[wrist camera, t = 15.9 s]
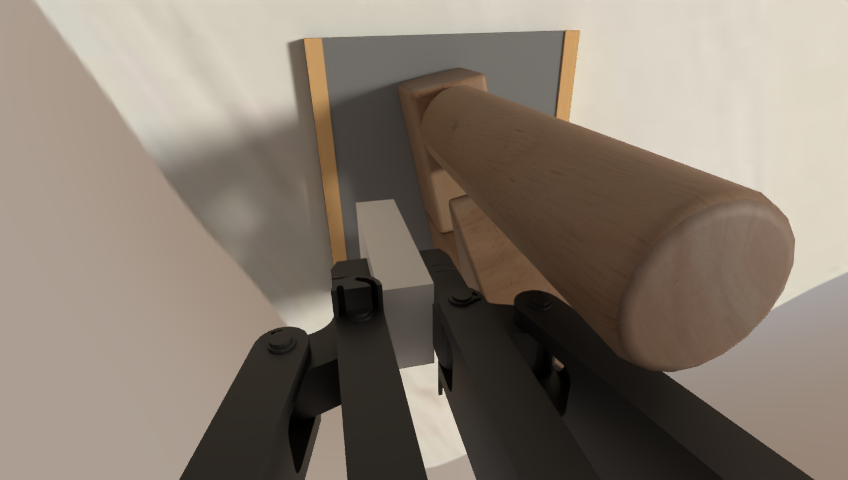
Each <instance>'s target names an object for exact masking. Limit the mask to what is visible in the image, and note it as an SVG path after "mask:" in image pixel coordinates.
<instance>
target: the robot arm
mask: <svg viewBox="0 0 848 480" xmlns="http://www.w3.org/2000/svg"><path fill="white" fill-rule="evenodd" d="M356 211H357V222H358V233H359V245H360V256H361V259H354V260H346V261H337V262H336V264H335V265H334V266H333V268H332V269H331V274H332V289H331V296H332V304H333V312H334V318H333V319H332V321H331V322H330V323H329V324H328V325H327V326H326V327H324V328H323V329H321V330H319V331H317V332H315V333H312V334H309V335H307V333H306V332H305V331H304V330H302V329H300V328H296V327H282V328H277V329H274V330H271V331H268V332H267V333H265V334H264V335H262V336H260V338H259V339H258V340H257V341H256V342H255V343H254V345H253V347H252V349H251V350H250V352H249V354H248V356H247V358H246V360H245V361H244V363H243V365H242V367H241V369H240V370H239V372H238V374H237V376H236V378H235V380H234V382H233V383H232V385H231V387H230V389H229V390H228V392H227V394H226V396H225V398H224V400H223V401H222V403H221V405H220V407H219V409H218V410H217V412H216V414H215V416H214V418H213V419H212V421H211V423H210V425H209V427H208V429H207V430H206V432H205V434H204V436H203V438H202V440H201V441H200V443H199V445H198V447H197V448H196V450H195V452H194V454H193V456H192V458H191V459H190V461H189V463H188V465H187V467H186V469H185V470H184V472H183V474H182V476H181V478H180V480H305V477H306V473H307V469H308V465H309V462H310V458H311V455H312V451H313V447H314V444H315V440H316V437H317V433H318V429H319V425H320V422H321V414H322V413H324V412H326V411H328V410H330V409H333V408H335V407H337V406H339V405H341V406H342V418H343V431H344V442H345V455H346V466H347V478H348V480H428V479H427V475H426V471H425V468H424V464H423V460H422V456H421V452H420V448H419V444H418V441H417V437H416V433H415V429H414V425H413V421H412V417H411V414H410V410H409V406H408V402H407V398H406V394H405V390H404V387H403V383H402V379H401V375H400V371H399V369H401V368H407V367H413V366H419V365H425V364H430V363H434V350H435V352H436V355H437V357H438V393H439V395H442V388H444V391H445V394H446V397H447V399H448V402H449V405H450V408H451V411H452V413H453V416H454V419H455V422H456V424H457V427H458V430H459V433H460V435H461V438H462V441H463V444H464V447H465V449H466V452H467V455H468V458H469V460H470V463H471V466H472V469H473V471H474V474H475V477H476V480H814V479H813V478H811V477H810V476H808V475H807V474H805V473H804V472H803V471H801V470H800V469H798V468H797V467H795V466H794V465H793V464H791V463H790V462H789V461H787V460H786V459H784V458H783V457H781V456H780V455H779V454H777V453H776V452H775V451H773V450H772V449H770V448H769V447H767V446H766V445H765V444H763V443H762V442H760V441H759V440H757V439H756V438H755V437H753V436H752V435H751V434H749V433H748V432H746V431H745V430H744V429H742V428H741V427H739V426H738V425H737V424H735V423H734V422H732V421H731V420H729V419H728V418H726V417H725V416H724V415H722V414H721V413H720V412H718V411H717V410H715V409H714V408H712V407H711V406H710V405H708V404H707V403H706V402H704V401H703V400H701V399H700V398H699V397H697V396H696V395H694V394H693V393H692V392H690V391H689V390H687V389H686V388H684V387H683V386H682V385H680V384H679V383H677V382H676V381H675V380H673V379H672V378H670V377H669V376H668V375H666V374H665V373H663V372H662V371H650V370H647V369H645V368H642V367H640V366H637V365H635V364H633V363H631V362H629V361H627V360H624V359H622V358H620V357H618V356H617V354H616V353H615V352H614V351H613V350H612V349H611V348H610V347H609V346H608V345H607V344H606V343H605V342H604V341H603V339H602V338H601V337H600V336H599V335H598V334H597V333H596V332H595V331H594V330H593V329H592V328H591V327H590V326H589V324H588V323H587V322H586V321H585V320H584V319H583V318H582V317H581V316H580V315H579V314H578V313H577V312H576V310H575V309H573V308H572V307H571V306H569V305H568V304H566V303H565V302H563V301H562V300H561V299H559V298H558V297H556V296H554V295H552V294H551V293H548V292H544V291H541V290H529V291H523V292H521V293H519V294H517V295H516V297H515V298H514V304H513V305H508V304H495V303H490V302H487V300H486V298H485V297H484V296H483V295H482V294H481V293H480V292H479V291H477V290H475V289H473V288H469V287H468V286H467V284H466V282H465V281H464V279H463V277H462V276H461V274H460V272H459V271H458V270H457V267H456V266H455V264H453V261H452V259H451V258H450V256H449V254H447V253H446V252H444V251H442V250H441V249H439V248H438V249H429V250H421V251H418V249H417V247H416V245H415V243H414V241H413V239H412V237H411V235H410V232H409V230H408V228H407V226H406V224H405V222H404V220H403V218H402V216H401V214H400V212H399V209H398V207H397V205H396V203H395V201H394V199H389V200H379V201H368V202H357V203H356ZM555 358H556V359H557V360H558V361H559V362H561V363H562V364H563V365H564V367H563V368H561V367H560V366H558V365H557V364H556V363H555Z"/></svg>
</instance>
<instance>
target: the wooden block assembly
mask: <svg viewBox="0 0 848 480" xmlns="http://www.w3.org/2000/svg"><path fill="white" fill-rule="evenodd" d="M398 94H399V99H400V103H401V107H402V112H403V116H404V120H405V125H406V129H407V134H408V138H409V142H410V147H411V151H412V156H413V160H414V164H415V169H416V173H417V178H418V182H419V186H420V191H421V195H422V199H423V204H424V208H425V210H426V211H427V213H428V214H427V222H428V226H429V230H430V235H431V239H432V244H433V248H434V249H438V248H439V249H441V250H442V251H444V252H446V253H447V254H449V256H450V258H451V259H452V261H453V264H455V266H456V267H457V270H458V271H459V272H460V274H461V276H462V277H463V279H464V281H465V282H466V284H467V286H468V287H469V288H473V289H475V290H477V291H479V292H480V293H481V294H482V295H483V296H484V297H485V298H486V300H487V302H490V303H495V304H508V305H513V304H514V298H515V297H516V295H517V294H519V293H521V292H523V291H529V290H541V291H544V292H548V293H551V294H552V295H554V296H556V297H558V298H559V299H561V300H562V301H563V302H565V303H566V304H568V305H569V306H571V307H572V308H573V309H575V310H576V312H577V313H578V314H579V315H580V316H581V317H582V318H583V319H584V320H585V321H586V322H587V323H588V324H589V326H590V327H591V328H592V329H593V330H594V331H595V332H596V333H597V334H598V335H599V336H600V337H601V338H602V339H603V341H604V342H605V343H606V344H607V345H608V346H609V347H610V348H611V349H612V350H613V351H614V352H615V353H616V354H617V356H618V357H620V358H622V359H624V360H627V361H629V362H631V363H633V364H635V365H637V366H640V367H642V368H645V369H647V370H650V371H666V372H675V371H679V370H683V369H688V368H692V367H696V366H699V365H701V364H703V363H705V362H707V361H709V360H712V359H714V358H716V357H718V356H720V355H722V354H724V353H725V352H726V351H728V350H729V349H730V348H732V347H733V346H735V345H736V344H737V343H739V342H740V341H741V340H743V339H744V338H745V337H747V336H748V335H749V334H750V332H752V330H753V329H754V328H755V327H756V326H757V325H758V324H759V323H760V322H761V321H762V320H763V319H764V318H765V317H766V316H767V315H768V313H769V312H770V310H771V309H772V307H773V306H774V304H775V302H776V301H777V299H778V298H779V296H780V295H781V293H782V292H783V290H784V288H785V285H786V282H787V280H788V277H789V274H790V272H791V269H792V266H793V261H794V246H795V238H794V235H793V232H792V229H791V226H790V224H789V221H788V218H787V217H786V216H785V215H784V214H783V213H782V211H781V210H780V209H779V208H778V207H777V206H776V205H774V204H773V203H772V202H771V201H770V200H769V199H768V198H767V197H766V196H764V195H763V194H762V193H761V192H758V191H755V190H752V189H750V188H747V187H744V186H742V185H739V184H736V183H733V182H731V181H728V180H725V179H723V178H720V177H717V176H714V175H712V174H709V173H706V172H703V171H701V170H698V169H695V168H693V167H690V166H687V165H684V164H682V163H679V162H676V161H674V160H671V159H668V158H665V157H663V156H660V155H657V154H655V153H652V152H649V151H646V150H644V149H641V148H638V147H635V146H633V145H630V144H627V143H625V142H622V141H619V140H616V139H614V138H611V137H608V136H606V135H603V134H600V133H597V132H595V131H592V130H589V129H587V128H584V127H581V126H578V125H576V124H573V123H570V122H567V121H565V120H562V119H559V118H557V117H554V116H551V115H548V114H546V113H543V112H540V111H538V110H535V109H532V108H529V107H527V106H524V105H521V104H518V103H516V102H513V101H510V100H508V99H505V98H502V97H499V96H497V95H494V94H491V93H489V92H488V88H487V80H486V77H485V75H484V73H480V72H476V71H472V70H469V69H465V68H460V67H458V68H454V69H450V70H446V71H442V72H438V73H435V74H431V75H427V76H423V77H419V78H415V79H411V80H407V81H403V82H401V83H400V84H399V85H398ZM555 363H556V364H557V365H558V366H560V367H561V368H563V367H564V365H563V364H562V363H561V362H559V361H558V360H557V359H556V358H555Z"/></svg>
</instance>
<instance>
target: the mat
mask: <svg viewBox="0 0 848 480" xmlns="http://www.w3.org/2000/svg"><path fill="white" fill-rule="evenodd" d="M579 34H580V30H570V31H536V32H502V33H468V34H434V35H400V36H366V37H332V38H304V43H305V51H306V59H307V66H308V74H309V82H310V89H311V97H312V105H313V112H314V120H315V128H316V135H317V143H318V151H319V158H320V166H321V174H322V181H323V189H324V197H325V204H326V212H327V220H328V227H329V235H330V243H331V250H332V258H333V266H334V265H335V264H336V262H337V261H346V260H354V259H361V256H360V245H359V233H358V222H357V211H356V203H357V202H368V201H379V200H389V199H394V201H395V203H396V205H397V207H398V209H399V212H400V214H401V216H402V218H403V220H404V222H405V224H406V226H407V228H408V230H409V232H410V235H411V237H412V239H413V241H414V243H415V245H416V247H417V249H418V251H421V250H429V249H434V248H433V244H432V239H431V235H430V230H429V226H428V222H427V214H428V213H427V211H426V210H425V208H424V204H423V199H422V195H421V191H420V186H419V182H418V178H417V173H416V169H415V164H414V160H413V156H412V151H411V147H410V142H409V138H408V134H407V129H406V125H405V120H404V116H403V112H402V107H401V103H400V99H399V94H398V85H399V84H400V83H401V82H403V81H407V80H411V79H415V78H419V77H423V76H427V75H431V74H435V73H438V72H442V71H446V70H450V69H454V68H458V67H460V68H465V69H469V70H472V71H476V72H480V73H484V75H485V77H486V80H487V88H488V92H489V93H491V94H494V95H497V96H499V97H502V98H505V99H508V100H510V101H513V102H516V103H518V104H521V105H524V106H527V107H529V108H532V109H535V110H538V111H540V112H543V113H546V114H548V115H551V116H554V117H557V118H559V119H562V120H565V121H567V122H569V117H570V108H571V100H572V92H573V84H574V75H575V67H576V59H577V51H578V43H579Z"/></svg>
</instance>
